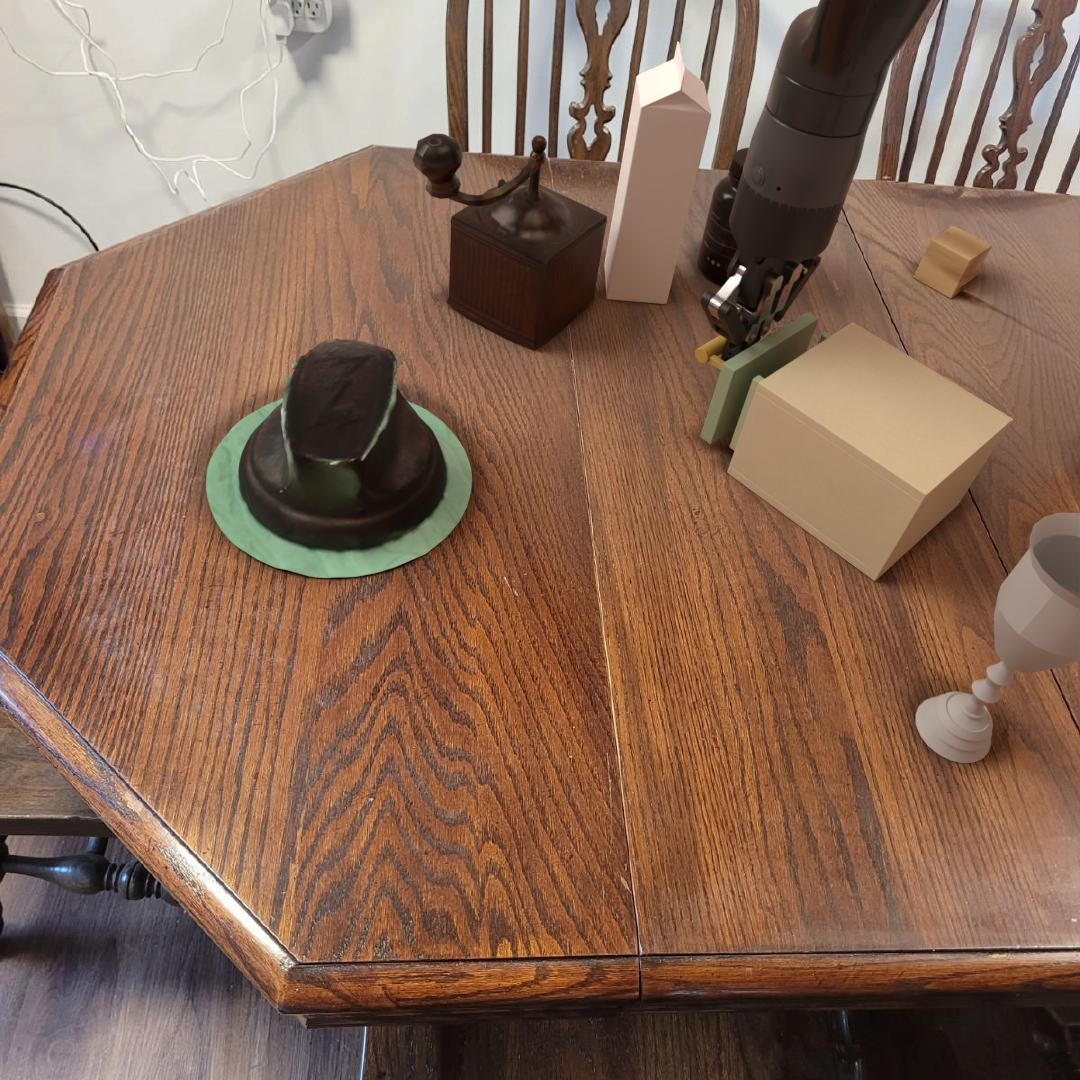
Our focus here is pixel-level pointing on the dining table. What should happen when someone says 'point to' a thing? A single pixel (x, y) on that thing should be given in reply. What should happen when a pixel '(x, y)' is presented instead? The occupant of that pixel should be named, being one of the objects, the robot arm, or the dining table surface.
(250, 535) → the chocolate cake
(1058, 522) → the chalice
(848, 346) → the cabinet
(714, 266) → the supplement bottle
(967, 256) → the block
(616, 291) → the milk
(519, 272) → the brown coffee grinder
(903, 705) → the dining table surface
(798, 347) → the drawer
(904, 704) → the dining table surface
